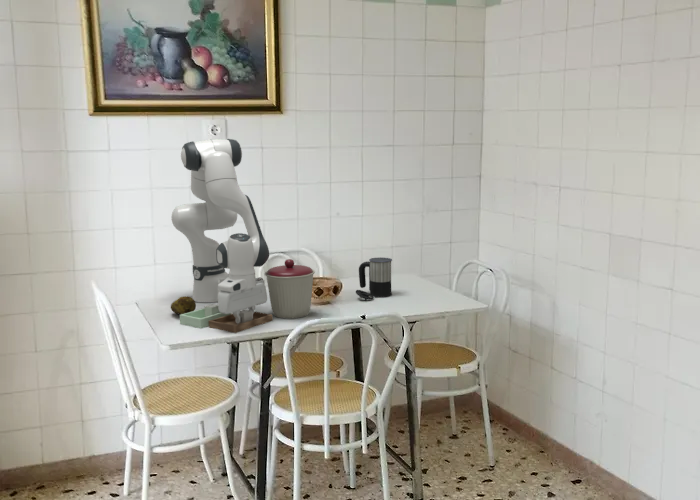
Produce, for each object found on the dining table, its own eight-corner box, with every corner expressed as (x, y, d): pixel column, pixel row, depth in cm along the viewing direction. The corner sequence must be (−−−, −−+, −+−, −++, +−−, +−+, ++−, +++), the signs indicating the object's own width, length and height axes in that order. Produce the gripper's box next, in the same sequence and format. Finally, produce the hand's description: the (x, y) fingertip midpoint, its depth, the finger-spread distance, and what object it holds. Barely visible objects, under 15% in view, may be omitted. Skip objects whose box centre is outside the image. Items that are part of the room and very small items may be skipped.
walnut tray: (246, 317, 266) (246, 309, 266) (272, 322, 258) (272, 314, 258) (208, 329, 252) (208, 320, 252) (235, 335, 244) (235, 326, 244)
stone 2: (244, 323, 256) (244, 309, 255) (252, 325, 253) (251, 310, 253) (236, 325, 253) (236, 311, 252) (244, 327, 250) (244, 313, 250)
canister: (260, 313, 272) (257, 257, 268) (306, 308, 279) (304, 253, 275) (275, 325, 255) (273, 265, 252) (323, 318, 262) (322, 260, 259)
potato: (192, 311, 278) (191, 290, 277) (198, 319, 266) (196, 297, 265) (170, 313, 276) (169, 292, 274) (174, 321, 264) (173, 299, 262)
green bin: (210, 317, 268) (209, 306, 268) (231, 321, 262) (230, 310, 261) (180, 326, 257) (179, 314, 257) (201, 330, 251) (200, 319, 250)
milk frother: (393, 292, 301) (392, 257, 298) (391, 301, 285) (390, 264, 283) (358, 292, 302) (357, 257, 300) (354, 301, 287) (353, 264, 284)
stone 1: (205, 319, 262) (204, 306, 261) (213, 317, 265) (212, 304, 264) (212, 321, 259) (211, 307, 259) (220, 319, 262) (219, 305, 262)
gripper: (257, 275, 260) (259, 313, 263) (214, 286, 244) (216, 326, 247) (270, 277, 257) (271, 315, 259) (227, 288, 241) (229, 329, 243)
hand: (244, 320), depth 253 cm, fingers closed on stone 2, 4 cm apart
